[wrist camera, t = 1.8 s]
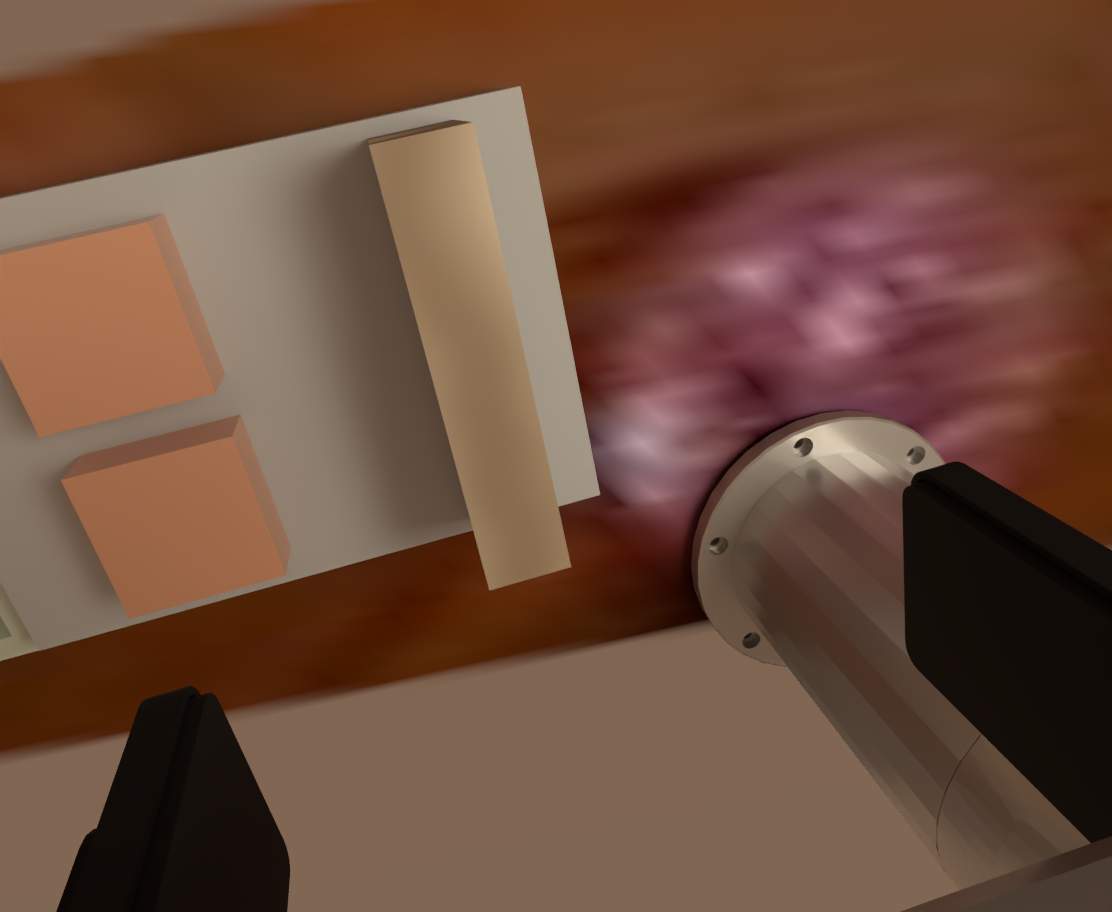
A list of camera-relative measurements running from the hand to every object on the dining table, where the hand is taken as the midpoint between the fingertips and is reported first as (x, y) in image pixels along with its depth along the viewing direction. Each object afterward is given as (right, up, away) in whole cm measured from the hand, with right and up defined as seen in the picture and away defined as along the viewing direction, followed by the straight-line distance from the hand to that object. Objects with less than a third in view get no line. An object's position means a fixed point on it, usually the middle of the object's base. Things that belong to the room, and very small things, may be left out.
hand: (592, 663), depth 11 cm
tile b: (-14, +7, +14) cm, 21 cm away
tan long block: (-4, +7, +17) cm, 18 cm away
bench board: (-11, +6, +19) cm, 23 cm away
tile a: (-13, +1, +17) cm, 21 cm away
